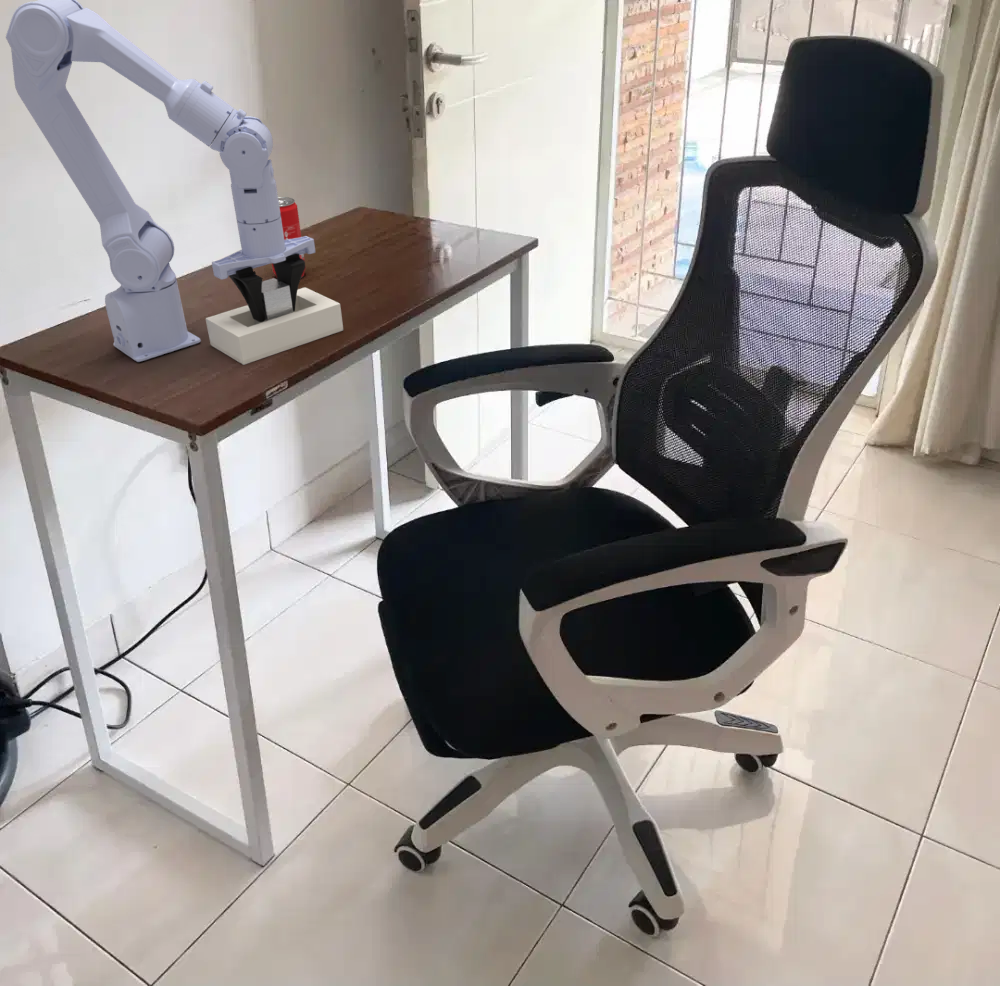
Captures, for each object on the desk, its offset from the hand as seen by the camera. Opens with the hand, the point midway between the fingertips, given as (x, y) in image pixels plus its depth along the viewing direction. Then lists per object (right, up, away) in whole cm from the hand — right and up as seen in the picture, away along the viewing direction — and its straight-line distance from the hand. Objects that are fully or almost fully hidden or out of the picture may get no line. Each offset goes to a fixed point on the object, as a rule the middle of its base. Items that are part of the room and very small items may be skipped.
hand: (274, 314), depth 139 cm
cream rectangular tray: (0, -3, +2) cm, 3 cm away
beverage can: (-2, +10, +23) cm, 25 cm away
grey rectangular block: (0, -2, +2) cm, 3 cm away
